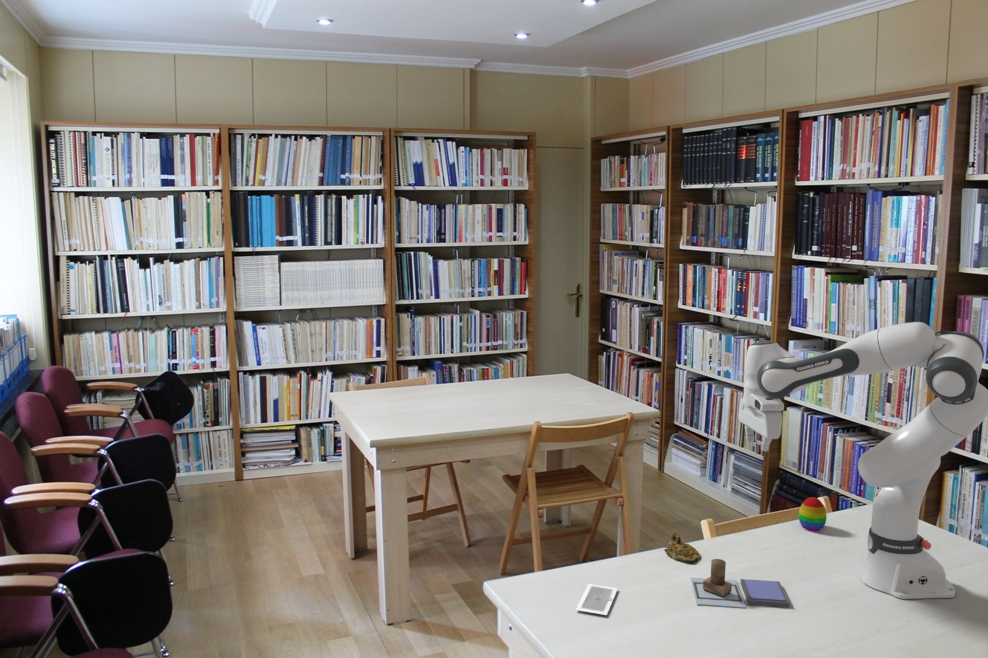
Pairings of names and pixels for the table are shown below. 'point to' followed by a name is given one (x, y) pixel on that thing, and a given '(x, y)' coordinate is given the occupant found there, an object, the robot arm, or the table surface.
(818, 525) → the decorative egg
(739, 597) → the marked card
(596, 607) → the touchpad
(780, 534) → the table surface
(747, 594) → the ink pad
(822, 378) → the robot arm
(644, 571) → the table surface
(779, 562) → the table surface
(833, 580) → the table surface
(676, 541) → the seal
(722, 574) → the stamp
